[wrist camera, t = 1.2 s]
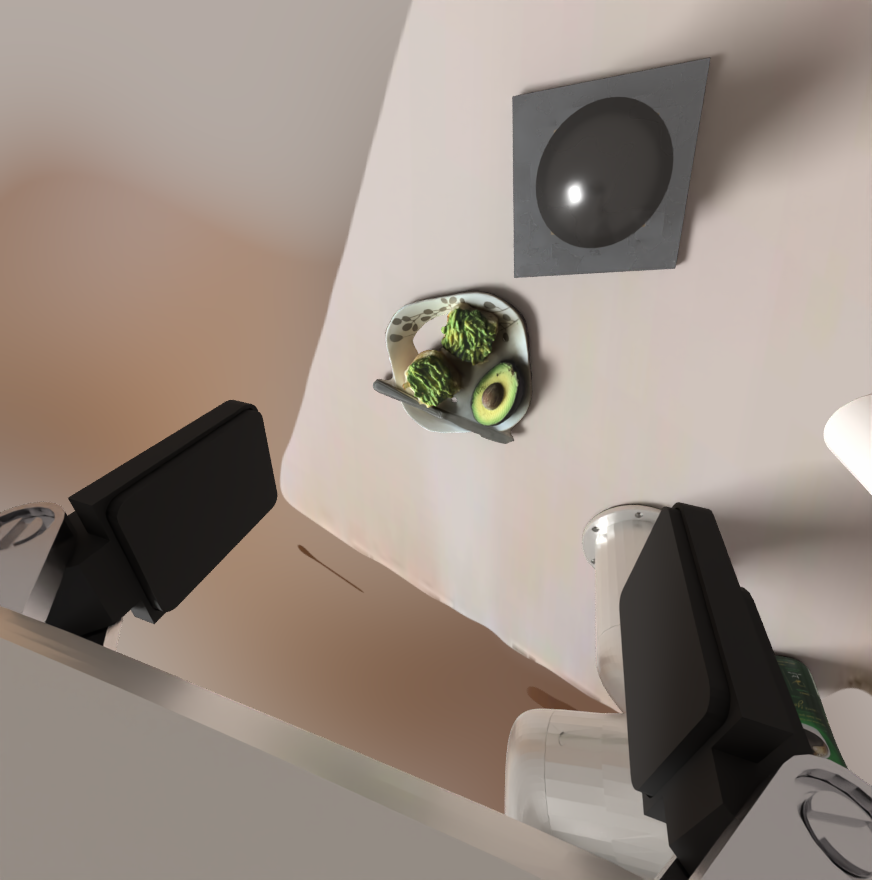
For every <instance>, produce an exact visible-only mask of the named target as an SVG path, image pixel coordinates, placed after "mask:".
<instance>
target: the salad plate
mask: <svg viewBox="0 0 872 880" xmlns="http://www.w3.org/2000/svg"><path fill="white" fill-rule="evenodd" d="M445 314H448V316H447V318H448V319H447V325H446V326H445V327H442V329H441V331H442V333H443V334H444V337H443V339H442V342H441V343H442V345H443V347H442V348H440V349H439V350H438V351H436V350H426V351H423V352H421V353H420V354H418V352H417V350H416V348H415V346H414V344H413V338H414V336H415V334H416V333H417V331H418V330H419V329H420V328H421V327H422V326H423V325H424V324H425V323H426V322H428V321H429V320H431V319H433V318H435V317H438V316H442V315H445ZM385 336H386V345H387V350H388V354H389V359H390V362H391V365H392V370H393V377H392V379H390V380H382V379H377V380H376V381H375V382H374V383H373V388H374V390H376V391H377V392H379V393H381V394H384V395H386V396H389V397H391V398H394V399H396V400H399V401H400V402H401V404H402V405H403V407H404V409H405V411H406V412H407V414H408V415H409V416H410V417H411V418H412V419H413V420H414V421H415V422H416V423H418V424H419V425H420V426H422V427H423V428H425V429H427V430H429V431H432V432H440V433H463V432H474V433H477V434H480V435H481V437H484V438H486V439H489V440H492V441H495V442H499V443H503V444H507V443H509V442H512V441H514V439H513V436H512V435H511V430H512V428H513V427H514V426H515V425H516V424H517V423H518V422H519V421H520V420H521V419H522V418H523V417H524V415H525V414H526V411H527V410H528V408H529V406H530V402H531V396H532V385H531V380H532V373H531V367H530V354H529V335H528V332H527V326H526V322H525V319H524V317H523V316H522V314H521V313H520V312H519V311H518V310H517V309H516V308H515V307H513V306H512V305H511V304H510V303H508V302H507V301H506V300H504V299H503V298H500V297H498V296H496V295H494V294H491V293H487V292H479V291H466V292H460V293H457V294H454V295H449V296H443V297H437V298H431V299H426V300H421V301H417V302H414V303H410V304H407V305H405V306H404V307H402V308H401V309H400V310H399V311H398V312H397V313H395V314H394V315H393V318H392V319H391V321H390V323H389V325H388V327H387V329H386V332H385ZM503 338H504V340H505V341H504V340H503ZM453 397H456V399H457V402H456V403H454V402H452V399H451V398H453Z"/></svg>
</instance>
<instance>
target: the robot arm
mask: <svg viewBox="0 0 872 880" xmlns="http://www.w3.org/2000/svg"><path fill="white" fill-rule="evenodd" d="M68 499H69V501H70V502H71V504H72V506H73V508H74V510H75V511H74V512H73V513H71V514H70V515H68V516H67V514H66V513H65V511H64V509H63V508H62V506H60V505H58V504H56V503H52V502H34V503H28V504H23V505H20V506H15V507H12V508H10V509H7V510H4V511H2V512H0V880H872V786H871V785H870V784H868V783H867V782H865V781H864V780H863V779H861V778H860V777H859V776H857V775H856V774H854V773H853V772H852V771H850V770H849V769H847V768H845V767H843V766H841V765H839V764H837V763H835V762H833V761H831V760H829V759H826V758H822V757H818V756H814V754H813V752H812V749H811V746H810V744H809V741H808V739H807V736H806V734H805V731H804V728H803V726H802V723H801V721H800V718H799V716H798V713H797V710H796V708H795V705H794V703H793V700H792V698H791V695H790V692H789V690H788V687H787V685H786V682H785V680H784V677H783V675H782V672H781V669H780V667H779V664H778V662H777V659H776V657H775V654H774V651H773V649H772V646H771V644H770V641H769V639H768V636H767V633H766V631H765V628H764V626H763V623H762V621H761V618H760V615H759V613H758V610H757V608H756V605H755V603H754V600H753V598H752V597H751V595H750V593H749V592H748V591H747V590H746V589H745V588H743V587H740V585H739V583H738V580H737V577H736V575H735V572H734V569H733V566H732V564H731V561H730V558H729V556H728V553H727V550H726V547H725V545H724V542H723V539H722V537H721V534H720V531H719V528H718V526H717V523H716V520H715V518H714V515H713V513H712V511H711V510H709V509H706V508H702V507H697V506H693V505H688V504H684V503H680V502H678V503H676V504H675V505H674V506H673V507H672V508H669V507H664V508H663V509H662V510H659V509H656V508H653V507H648V506H642V505H626V506H618V507H614V508H611V509H608V510H606V511H603V512H601V513H600V514H598V515H597V516H595V517H594V518H593V519H592V520H591V521H590V522H589V523H588V524H587V526H586V528H585V529H584V533H583V536H582V548H583V553H584V555H585V558H586V559H587V561H588V563H589V564H590V565H591V566H592V567H593V568H594V569H595V633H596V647H595V654H596V666H597V670H598V674H599V677H600V679H601V682H602V684H603V686H604V687H605V689H606V691H607V692H608V694H609V696H610V697H611V698H612V700H613V701H614V702H615V704H616V705H617V706H618V708H619V709H620V710H621V711H622V712H623V713H622V714H618V713H606V714H605V713H592V712H582V711H571V710H559V709H558V710H556V709H532V710H528V711H526V712H524V713H522V714H521V715H520V716H519V717H518V718H517V719H516V721H515V722H514V724H513V727H512V730H511V732H510V736H509V741H508V748H507V756H506V776H505V815H504V814H502V813H500V812H497V811H495V810H493V809H491V808H488V807H486V806H483V805H481V804H479V803H476V802H474V801H472V800H469V799H467V798H465V797H462V796H460V795H458V794H455V793H453V792H450V791H448V790H446V789H443V788H441V787H439V786H436V785H434V784H432V783H429V782H427V781H424V780H422V779H420V778H417V777H415V776H413V775H410V774H408V773H406V772H403V771H401V770H399V769H396V768H393V767H391V766H389V765H387V764H384V763H382V762H380V761H377V760H375V759H373V758H370V757H368V756H365V755H363V754H361V753H358V752H356V751H354V750H351V749H349V748H346V747H344V746H342V745H340V744H337V743H335V742H332V741H330V740H327V739H325V738H323V737H320V736H318V735H316V734H313V733H311V732H308V731H306V730H304V729H301V728H299V727H297V726H294V725H292V724H289V723H287V722H285V721H282V720H280V719H277V718H275V717H273V716H270V715H268V714H265V713H263V712H261V711H258V710H256V709H253V708H251V707H249V706H246V705H244V704H242V703H239V702H237V701H234V700H232V699H229V698H227V697H225V696H222V695H220V694H218V693H215V692H213V691H210V690H208V689H205V688H203V687H201V686H198V685H196V684H193V683H191V682H188V681H186V680H184V679H182V678H179V677H177V676H174V675H172V674H169V673H167V672H164V671H162V670H160V669H157V668H155V667H152V666H150V665H147V664H145V663H142V662H140V661H138V660H135V659H133V658H130V657H128V656H125V655H123V654H121V653H118V652H116V648H117V644H118V640H119V635H120V631H121V626H122V622H123V616H124V615H125V614H126V613H127V612H128V611H130V610H131V611H132V613H133V614H134V616H135V617H137V618H140V619H142V620H145V621H147V622H150V623H153V624H155V623H156V622H157V621H158V620H159V619H160V618H161V617H162V616H163V615H164V614H165V613H166V612H168V611H171V610H173V609H175V608H176V607H177V606H178V605H179V604H180V603H181V602H182V601H183V600H184V599H185V598H186V597H187V596H188V595H189V593H191V591H192V590H193V589H194V588H195V587H196V586H197V585H198V584H199V583H200V582H201V581H202V580H203V579H204V578H205V577H206V576H207V575H208V574H209V573H210V572H211V571H212V570H213V569H214V568H215V567H216V566H217V565H218V564H219V563H220V562H221V560H222V559H223V558H224V557H225V556H226V555H227V554H228V553H229V552H230V551H231V550H232V549H233V548H234V547H235V546H236V545H237V544H238V543H239V542H240V541H241V540H242V539H243V537H245V536H246V535H247V534H248V533H249V532H250V531H251V529H252V528H253V527H254V526H255V525H256V524H257V523H258V522H259V521H260V520H261V519H262V518H263V517H264V516H265V515H266V514H267V513H268V512H269V511H270V510H271V509H272V508H273V506H274V505H275V503H276V500H277V490H276V485H275V479H274V474H273V469H272V464H271V459H270V454H269V448H268V443H267V438H266V433H265V428H264V422H263V418H262V415H261V413H260V412H258V410H257V408H256V407H255V406H254V405H252V404H249V403H244V402H240V401H236V400H229V401H226V402H225V403H223V404H221V405H219V406H218V407H216V408H215V409H213V410H211V411H210V412H208V413H206V414H205V415H203V416H201V417H200V418H198V419H197V420H195V421H193V422H192V423H190V424H188V425H187V426H185V427H183V428H182V429H180V430H178V431H177V432H176V433H174V434H172V435H170V436H169V437H167V438H165V439H164V440H162V441H161V442H159V443H157V444H156V445H154V446H152V447H151V448H149V449H147V450H146V451H144V452H142V453H141V454H139V455H138V456H136V457H134V458H133V459H131V460H129V461H128V462H126V463H124V464H123V465H121V466H119V467H118V468H116V469H115V470H113V471H111V472H110V473H108V474H106V475H105V476H103V477H102V478H100V479H98V480H96V481H95V482H93V483H92V484H90V485H88V486H87V487H85V488H83V489H82V490H80V491H78V492H77V493H75V494H74V495H72V496H70V497H69V498H68Z"/></svg>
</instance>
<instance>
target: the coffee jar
mask: <svg viewBox="0 0 872 880" xmlns="http://www.w3.org/2000/svg"><path fill="white" fill-rule="evenodd" d="M775 657H776V659H777V662H778V664H779V667H780V669H781V672H782V675H783V677H784V680H785V682H786V685H787V687H788V690H789V692H790V695H791V698H792V700H793V703H794V705H795V708H796V710H797V713H798V716H799V718H800V721H801V723H802V726H803V728H804V731H805V734H806V736H807V739H808V741H809V744H810V746H811V749H812V752H813V754H814V756H818V757H822V758H826V759H829V760H831V761H833V762H835V763H837V764H839V765H841V766H843V767H845V768H847V766H846V764H845V762H844V760H843V758H842V756H841V753H840V751H839V749H838V747H837V744H836V742H835V739H834V737H833V734H832V731H831V729H830V726H829V723H828V720H827V717H826V714H825V712H824V708H823V705H822V702H821V699H820V696H819V693H818V690H817V688H816V685H815V682H814V680H813V677H812V675H811V673H810V671H809V669H808V668H807V667H806V666H805V665H804V664H803V663H801V662H800V661H798V660H795V659H792V658H788V657H782V656H776V655H775ZM847 769H848V768H847Z"/></svg>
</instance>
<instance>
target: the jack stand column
mask: <svg viewBox="0 0 872 880" xmlns="http://www.w3.org/2000/svg"><path fill="white" fill-rule="evenodd" d="M672 170H673V146H672V141H671V137H670V134H669V131H668V129H667V127H666V125H665V123H664V121H663V120H662V118H661V117H660V116H659V113H657V112H655V111H654V110H653V109H652V108H651V107H650V106H648V105H646V104H645V103H643V102H641V101H638V100H636V99H632V98H627V97H609V98H604V99H600V100H597V101H594V102H592V103H589V104H587V105H585V106H584V107H582V108H580V109H579V110H577V111H576V112H575V113H573V114H572V115H570V116H569V117H568V118H567V119H566V120H565V121H564V122H563V123H562V124H561V125H560V126H559V128H558V129H557V130H554V134H553V136H552V137H551V139H550V140H549V142H548V144H547V146H546V147H545V149H544V152H543V154H542V157H541V160H540V163H539V166H538V171H537V176H536V198H537V204H538V208H539V211H540V214H541V216H542V218H543V220H544V222H545V224H546V225H547V227H548V228H549V229H550V230H551V235H556V236H557V237H558V238H559V239H561V240H562V241H564V242H566V243H568V244H570V245H573V246H577V247H581V248H600V247H606V246H609V245H613V244H615V243H617V242H620V241H622V240H624V239H626V238H627V237H629V236H630V235H632V234H633V233H635V232H636V231H637V230H639V229H640V228H641V227H645V223H646V222H647V221H648V220H649V219H650V218H651V216H652V215H653V214H654V212H655V211H656V210H657V208H658V207H659V205H660V203H661V202H662V200H663V198H664V196H665V193H666V191H667V189H668V186H669V183H670V179H671V174H672Z"/></svg>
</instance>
